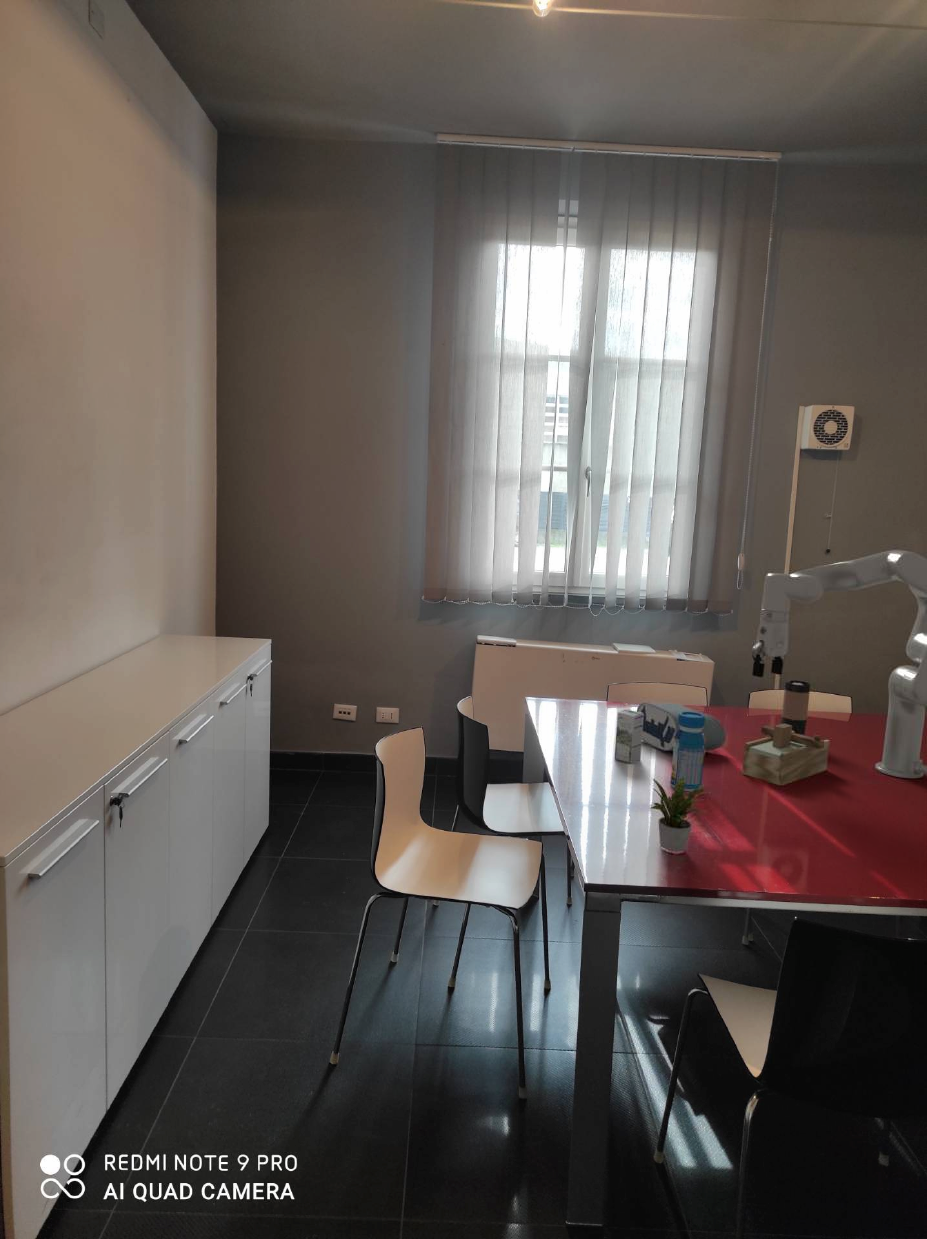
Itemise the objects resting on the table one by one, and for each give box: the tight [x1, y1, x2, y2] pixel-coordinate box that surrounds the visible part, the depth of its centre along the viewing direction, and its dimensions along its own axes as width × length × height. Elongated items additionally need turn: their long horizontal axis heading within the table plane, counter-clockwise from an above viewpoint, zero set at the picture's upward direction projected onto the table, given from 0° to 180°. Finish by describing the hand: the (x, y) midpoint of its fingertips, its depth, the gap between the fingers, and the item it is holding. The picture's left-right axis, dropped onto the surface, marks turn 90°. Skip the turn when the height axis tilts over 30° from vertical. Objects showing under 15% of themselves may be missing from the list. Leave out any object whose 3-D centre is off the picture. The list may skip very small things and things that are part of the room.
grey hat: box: [636, 702, 727, 752], centre depth 267 cm, size 22×19×13 cm
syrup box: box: [613, 708, 644, 765], centre depth 249 cm, size 6×6×14 cm
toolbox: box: [741, 731, 830, 786], centre depth 246 cm, size 12×25×9 cm, turn 130°
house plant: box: [649, 777, 713, 851], centre depth 185 cm, size 14×14×16 cm
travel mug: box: [780, 679, 811, 736], centre depth 276 cm, size 8×8×20 cm
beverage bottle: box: [669, 712, 706, 792], centre depth 228 cm, size 8×8×20 cm
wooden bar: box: [760, 725, 825, 749], centre depth 246 cm, size 18×2×3 cm, turn 40°
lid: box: [749, 723, 806, 760], centre depth 243 cm, size 9×18×7 cm, turn 130°
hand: (767, 675), depth 247 cm, fingers open, 9 cm apart
